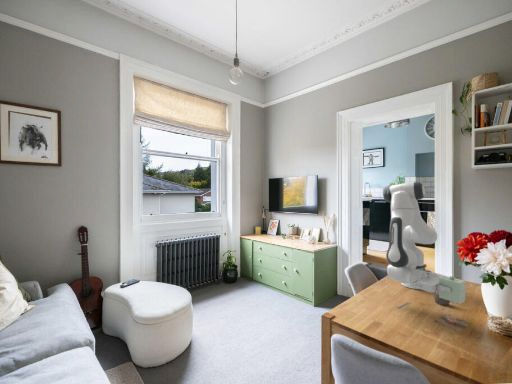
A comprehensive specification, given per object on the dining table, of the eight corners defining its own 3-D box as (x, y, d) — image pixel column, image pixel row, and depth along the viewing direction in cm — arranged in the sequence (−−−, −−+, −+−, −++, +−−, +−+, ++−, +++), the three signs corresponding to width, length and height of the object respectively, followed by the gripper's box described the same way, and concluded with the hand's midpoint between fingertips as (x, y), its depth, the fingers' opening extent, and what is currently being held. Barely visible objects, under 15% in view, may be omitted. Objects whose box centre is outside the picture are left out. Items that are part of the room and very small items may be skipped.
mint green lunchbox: (444, 294, 120) (444, 273, 120) (465, 300, 113) (465, 278, 113) (438, 297, 116) (439, 275, 116) (460, 303, 110) (460, 280, 110)
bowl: (449, 319, 117) (449, 314, 117) (458, 322, 114) (458, 317, 114) (446, 321, 115) (446, 316, 115) (455, 324, 112) (455, 319, 112)
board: (444, 316, 122) (444, 314, 122) (470, 325, 114) (470, 323, 114) (433, 323, 116) (433, 320, 116) (460, 333, 107) (460, 331, 107)
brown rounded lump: (452, 308, 130) (452, 291, 130) (437, 307, 132) (438, 290, 132) (445, 302, 137) (445, 286, 137) (431, 301, 138) (431, 285, 138)
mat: (407, 303, 136) (407, 302, 136) (428, 310, 128) (428, 309, 128) (396, 308, 130) (396, 307, 130) (417, 316, 122) (417, 315, 122)
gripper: (410, 276, 120) (444, 286, 108) (430, 269, 131) (462, 277, 119) (410, 290, 120) (444, 300, 108) (430, 281, 131) (462, 290, 119)
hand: (454, 288), depth 114 cm, fingers closed on mint green lunchbox, 6 cm apart
